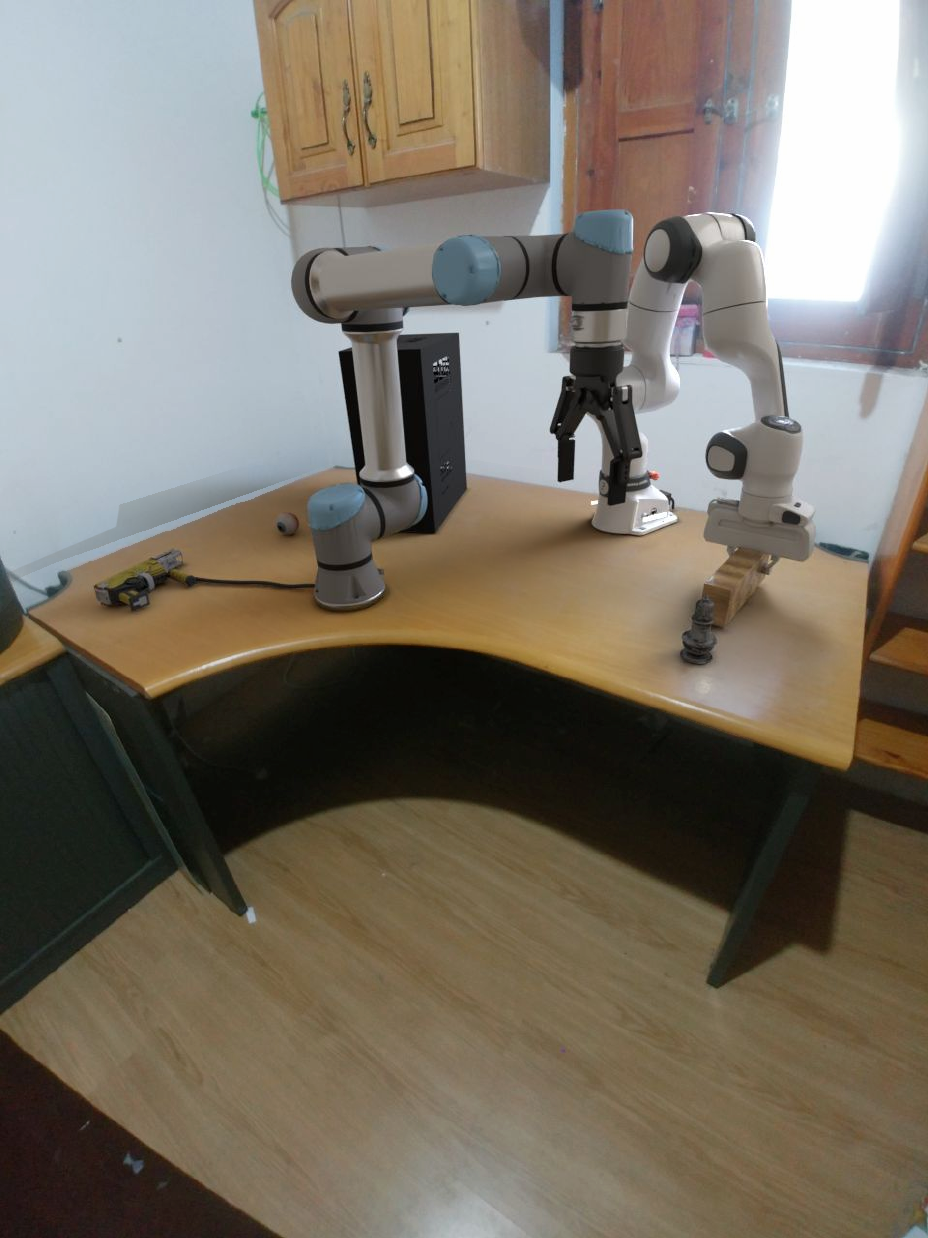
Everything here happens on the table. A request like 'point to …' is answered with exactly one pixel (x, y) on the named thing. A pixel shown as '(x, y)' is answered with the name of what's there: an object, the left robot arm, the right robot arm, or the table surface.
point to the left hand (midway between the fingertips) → (589, 491)
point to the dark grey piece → (699, 634)
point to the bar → (734, 583)
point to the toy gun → (141, 581)
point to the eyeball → (287, 523)
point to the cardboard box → (422, 419)
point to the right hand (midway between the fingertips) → (750, 569)
